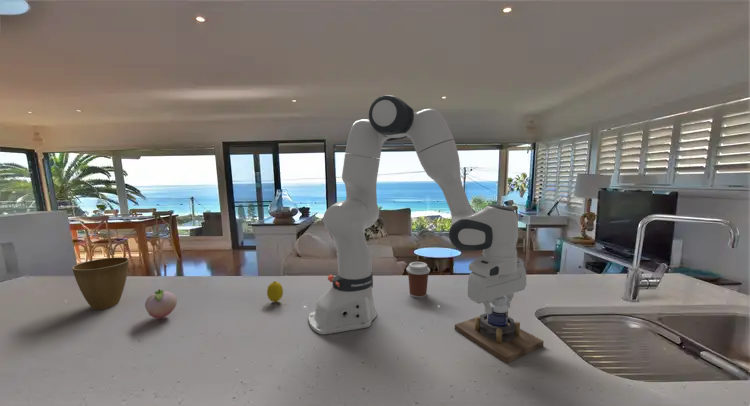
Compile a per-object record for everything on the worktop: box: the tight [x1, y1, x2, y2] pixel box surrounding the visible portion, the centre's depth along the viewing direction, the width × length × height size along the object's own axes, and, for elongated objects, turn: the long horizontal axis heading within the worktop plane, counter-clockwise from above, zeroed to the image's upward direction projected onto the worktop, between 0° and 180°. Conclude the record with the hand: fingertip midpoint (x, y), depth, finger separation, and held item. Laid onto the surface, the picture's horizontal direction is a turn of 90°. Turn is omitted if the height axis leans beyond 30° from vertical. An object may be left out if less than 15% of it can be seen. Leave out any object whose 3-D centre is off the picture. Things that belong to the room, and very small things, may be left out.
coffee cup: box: [405, 261, 431, 299], centre depth 113 cm, size 9×9×12 cm
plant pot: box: [71, 256, 130, 311], centre depth 106 cm, size 15×15×16 cm
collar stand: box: [454, 312, 544, 364], centre depth 83 cm, size 15×18×5 cm
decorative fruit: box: [144, 289, 178, 320], centre depth 96 cm, size 9×8×10 cm
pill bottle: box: [487, 296, 509, 334], centre depth 83 cm, size 5×5×10 cm
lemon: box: [266, 281, 284, 303], centre depth 107 cm, size 6×6×8 cm
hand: (497, 310), depth 83 cm, fingers closed on pill bottle, 5 cm apart
